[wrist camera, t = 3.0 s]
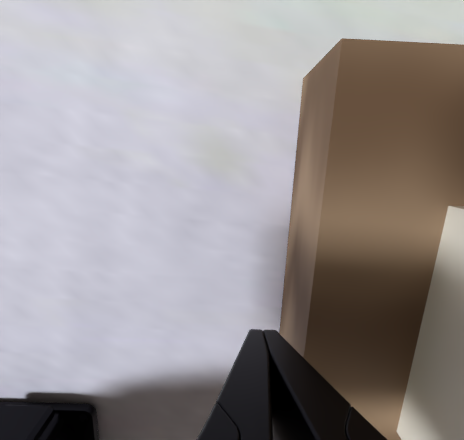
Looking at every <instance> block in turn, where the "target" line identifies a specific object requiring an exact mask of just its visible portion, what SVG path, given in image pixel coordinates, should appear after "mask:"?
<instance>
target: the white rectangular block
mask: <svg viewBox="0 0 464 440" xmlns="http://www.w3.org/2000/svg"><path fill="white" fill-rule="evenodd" d="M397 433H398V435H399V436H400V438H401V440H464V206H448V210H447V214H446V218H445V223H444V227H443V231H442V236H441V240H440V245H439V249H438V253H437V258H436V262H435V266H434V271H433V275H432V279H431V284H430V288H429V292H428V297H427V301H426V306H425V310H424V314H423V319H422V323H421V327H420V332H419V336H418V340H417V345H416V349H415V353H414V358H413V362H412V367H411V371H410V375H409V380H408V384H407V388H406V393H405V397H404V401H403V406H402V410H401V414H400V419H399V423H398V428H397Z"/></svg>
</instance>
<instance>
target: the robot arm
mask: <svg viewBox="0 0 464 440" xmlns="http://www.w3.org/2000/svg"><path fill="white" fill-rule="evenodd" d="M0 440H99V437H98V426H97V415H96V410H95V408H94V407H93V406H92V405H89V404H68V403H26V402H0ZM197 440H388V439H387V438H385V437H384V436H383V435H382V434H381V433H380V432H379V431H378V430H377V429H376V428H375V427H374V426H373V425H372V424H370V423H369V422H368V421H367V420H366V419H365V418H364V417H363V416H362V415H361V414H360V413H359V412H358V411H357V410H356V409H355V408H354V407H351V404H350V403H349V402H348V401H347V400H346V399H345V398H344V397H343V396H342V395H341V394H340V393H339V392H338V391H337V390H336V389H335V388H334V387H333V386H332V385H331V384H330V383H329V382H328V381H327V380H326V379H325V378H324V377H323V376H322V375H321V374H320V373H319V372H318V371H317V370H316V369H315V368H314V367H313V366H312V365H311V364H310V363H309V362H308V361H307V360H305V359H304V358H303V357H302V356H301V355H300V354H299V353H298V352H297V351H296V350H295V349H294V348H293V347H292V346H291V345H290V344H289V343H288V342H287V341H286V340H285V339H284V338H283V337H282V336H281V335H280V334H279V333H278V332H277V331H276V330H264V331H262V330H257V329H251V330H250V331H249V332H248V335H247V337H246V339H245V341H244V343H243V345H242V347H241V350H240V352H239V354H238V356H237V358H236V360H235V362H234V365H233V367H232V369H231V371H230V373H229V375H228V377H227V380H226V382H225V384H224V386H223V388H222V390H221V393H220V395H219V397H218V399H217V401H216V404H215V405H214V407H213V409H212V411H211V414H210V416H209V418H208V420H207V422H206V424H205V425H204V427H203V429H202V431H201V433H200V435H199V436H198V438H197Z"/></svg>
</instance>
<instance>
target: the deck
mask: <svg viewBox="0 0 464 440" xmlns="http://www.w3.org/2000/svg"><path fill="white" fill-rule="evenodd" d="M448 206H464V45H458V44H439V43H419V42H400V41H380V40H361V39H341V40H340V41H339V42H338V43H337V44H336V45H335V46H334V47H333V48H332V49H331V50H330V51H329V52H328V53H327V55H326V56H325V57H324V58H323V59H322V60H321V61H320V62H319V63H318V64H317V65H316V66H315V67H314V68H313V69H312V70H311V71H310V72H309V73H308V74H307V75H306V76H305V77H304V78H303V86H302V97H301V108H300V118H299V129H298V140H297V151H296V161H295V172H294V183H293V194H292V204H291V215H290V226H289V236H288V247H287V258H286V269H285V279H284V290H283V301H282V312H281V322H280V333H279V334H280V335H281V336H282V337H283V338H284V339H285V340H286V341H287V342H288V343H289V344H290V345H291V346H292V347H293V348H294V349H295V350H296V351H297V352H298V353H299V354H300V355H301V356H302V357H303V358H304V359H305V360H307V361H308V362H309V363H310V364H311V365H312V366H313V367H314V368H315V369H316V370H317V371H318V372H319V373H320V374H321V375H322V376H323V377H324V378H325V379H326V380H327V381H328V382H329V383H330V384H331V385H332V386H333V387H334V388H335V389H336V390H337V391H338V392H339V393H340V394H341V395H342V396H343V397H344V398H345V399H346V400H347V401H348V402H349V403H350V404H351V407H354V408H355V409H356V410H357V411H358V412H359V413H360V414H361V415H362V416H363V417H364V418H365V419H366V420H367V421H368V422H369V423H370V424H372V425H373V426H374V427H375V428H376V429H377V430H378V431H379V432H380V433H381V434H382V435H383V436H384V437H385V438H387V439H388V440H401V438H400V436H399V435H398V433H397V428H398V423H399V419H400V414H401V410H402V406H403V401H404V397H405V393H406V388H407V384H408V380H409V375H410V371H411V367H412V362H413V358H414V353H415V349H416V345H417V340H418V336H419V332H420V327H421V323H422V319H423V314H424V310H425V306H426V301H427V297H428V292H429V288H430V284H431V279H432V275H433V271H434V266H435V262H436V258H437V253H438V249H439V245H440V240H441V236H442V231H443V227H444V223H445V218H446V214H447V210H448Z"/></svg>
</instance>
